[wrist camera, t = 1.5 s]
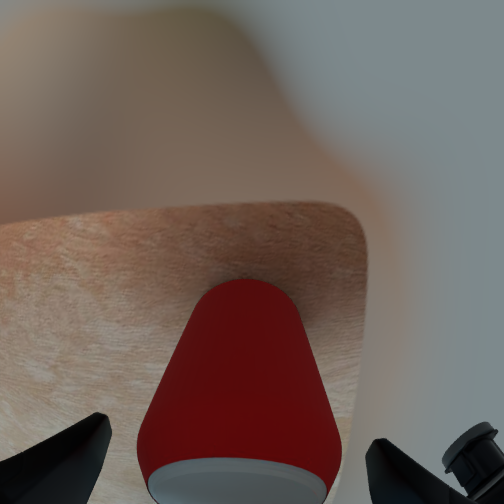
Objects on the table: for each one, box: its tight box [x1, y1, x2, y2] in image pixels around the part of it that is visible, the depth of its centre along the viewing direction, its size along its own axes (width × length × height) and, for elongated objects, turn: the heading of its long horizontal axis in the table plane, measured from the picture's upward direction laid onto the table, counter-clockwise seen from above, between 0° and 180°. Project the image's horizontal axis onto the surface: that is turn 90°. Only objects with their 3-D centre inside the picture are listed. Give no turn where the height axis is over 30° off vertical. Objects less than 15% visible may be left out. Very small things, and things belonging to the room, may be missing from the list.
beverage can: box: [137, 279, 342, 504], centre depth 11 cm, size 6×6×12 cm
